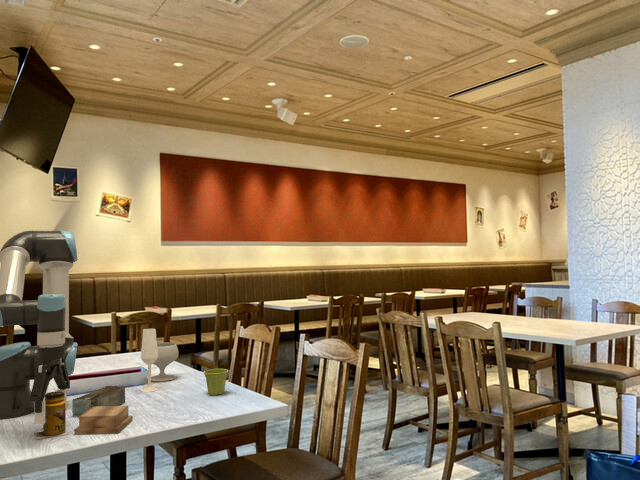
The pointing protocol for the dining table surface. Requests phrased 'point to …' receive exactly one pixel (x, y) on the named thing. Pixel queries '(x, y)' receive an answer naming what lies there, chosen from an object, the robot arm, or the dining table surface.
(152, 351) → the champagne flute
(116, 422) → the walnut plinth
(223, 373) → the plant pot
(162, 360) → the chalice
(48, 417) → the condiment
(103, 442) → the dining table surface
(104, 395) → the beverage carton
